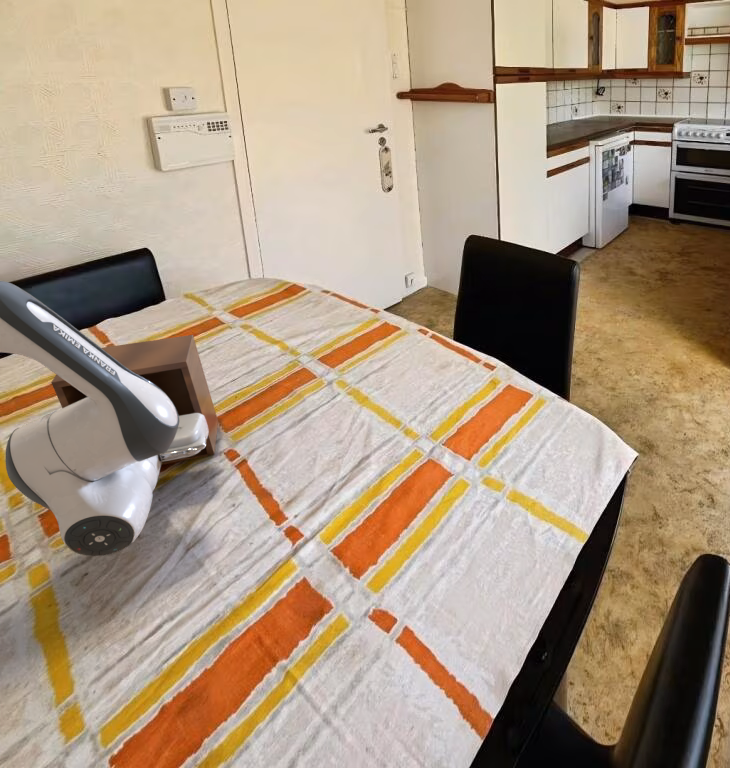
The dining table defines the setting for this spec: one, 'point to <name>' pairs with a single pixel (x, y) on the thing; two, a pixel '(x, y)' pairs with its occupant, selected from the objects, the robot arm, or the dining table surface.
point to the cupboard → (163, 379)
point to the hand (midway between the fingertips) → (141, 417)
